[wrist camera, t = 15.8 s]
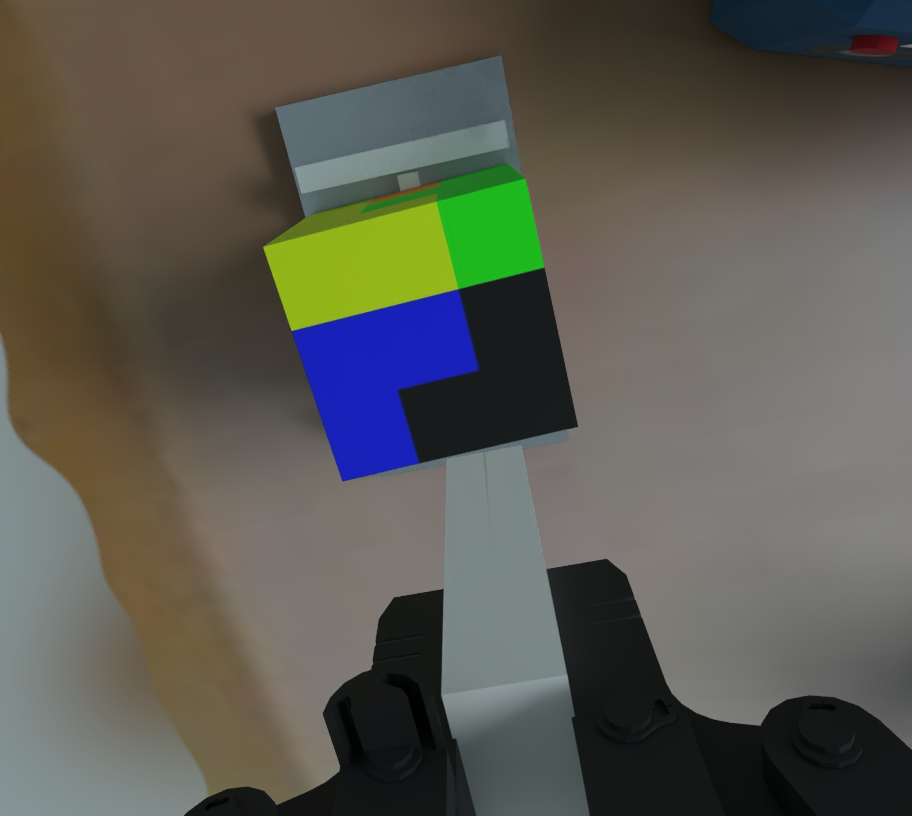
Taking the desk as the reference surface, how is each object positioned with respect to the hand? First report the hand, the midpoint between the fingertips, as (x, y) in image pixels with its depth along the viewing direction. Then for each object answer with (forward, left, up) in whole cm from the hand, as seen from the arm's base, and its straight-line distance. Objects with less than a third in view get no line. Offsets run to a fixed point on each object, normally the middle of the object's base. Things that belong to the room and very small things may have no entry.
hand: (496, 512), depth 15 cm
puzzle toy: (0, -2, -25) cm, 25 cm away
